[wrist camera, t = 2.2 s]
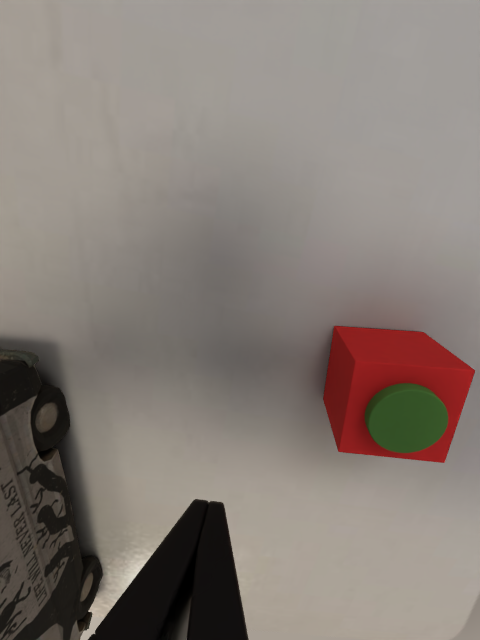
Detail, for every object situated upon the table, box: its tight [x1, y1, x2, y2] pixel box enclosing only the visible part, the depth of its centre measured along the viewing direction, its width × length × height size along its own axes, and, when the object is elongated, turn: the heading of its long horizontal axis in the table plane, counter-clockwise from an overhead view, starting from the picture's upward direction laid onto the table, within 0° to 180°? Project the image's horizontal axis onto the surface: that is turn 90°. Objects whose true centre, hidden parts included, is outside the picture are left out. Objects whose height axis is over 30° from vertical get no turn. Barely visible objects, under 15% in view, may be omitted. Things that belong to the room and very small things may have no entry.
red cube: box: [323, 326, 475, 463], centre depth 15 cm, size 5×5×5 cm
